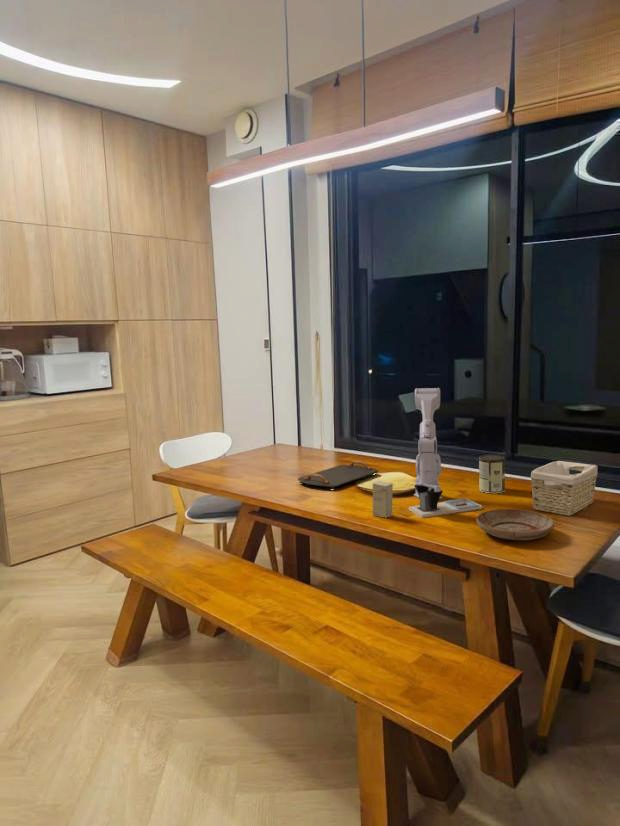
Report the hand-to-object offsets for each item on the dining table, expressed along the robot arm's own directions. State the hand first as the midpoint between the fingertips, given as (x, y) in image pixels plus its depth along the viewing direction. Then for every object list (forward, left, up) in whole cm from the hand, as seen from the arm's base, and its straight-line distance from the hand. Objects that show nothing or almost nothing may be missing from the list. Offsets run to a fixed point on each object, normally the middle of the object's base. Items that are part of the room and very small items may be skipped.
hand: (428, 506), depth 207 cm
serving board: (-59, -14, -3) cm, 61 cm away
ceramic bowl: (+31, +14, -3) cm, 34 cm away
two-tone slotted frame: (0, +7, -2) cm, 7 cm away
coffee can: (-14, +37, -2) cm, 40 cm away
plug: (0, 0, -2) cm, 2 cm away
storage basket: (+15, +48, -3) cm, 50 cm away
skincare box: (-3, -17, -2) cm, 17 cm away
